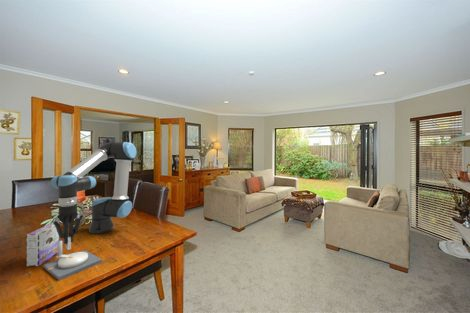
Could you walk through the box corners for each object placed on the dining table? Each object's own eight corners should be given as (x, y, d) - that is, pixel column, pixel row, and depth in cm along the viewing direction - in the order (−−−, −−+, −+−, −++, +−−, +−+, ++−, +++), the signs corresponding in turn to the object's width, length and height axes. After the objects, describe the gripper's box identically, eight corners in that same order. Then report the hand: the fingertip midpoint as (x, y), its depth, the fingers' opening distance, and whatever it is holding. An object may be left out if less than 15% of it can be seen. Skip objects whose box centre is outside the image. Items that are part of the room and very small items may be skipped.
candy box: (48, 252, 115) (48, 223, 115) (59, 252, 116) (59, 223, 115) (25, 266, 102) (25, 233, 101) (38, 266, 102) (38, 233, 102)
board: (41, 267, 101) (41, 264, 101) (84, 252, 117) (84, 249, 117) (57, 281, 91) (57, 277, 91) (101, 262, 107) (101, 258, 107)
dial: (45, 266, 99) (46, 245, 99) (69, 254, 111) (69, 235, 111) (72, 269, 97) (73, 249, 97) (93, 256, 109) (93, 238, 109)
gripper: (55, 208, 100) (56, 256, 101) (85, 203, 111) (85, 245, 112) (49, 206, 104) (50, 252, 105) (78, 201, 115) (78, 242, 116)
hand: (68, 248), depth 108 cm, fingers closed
